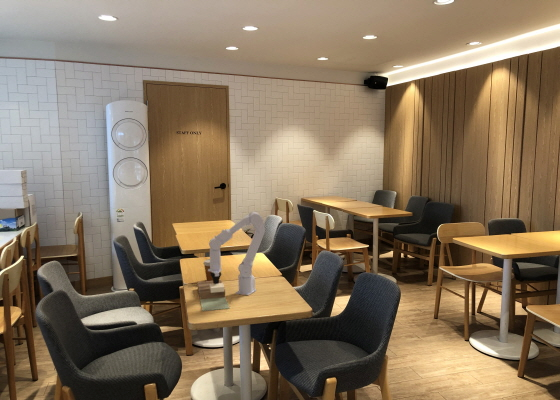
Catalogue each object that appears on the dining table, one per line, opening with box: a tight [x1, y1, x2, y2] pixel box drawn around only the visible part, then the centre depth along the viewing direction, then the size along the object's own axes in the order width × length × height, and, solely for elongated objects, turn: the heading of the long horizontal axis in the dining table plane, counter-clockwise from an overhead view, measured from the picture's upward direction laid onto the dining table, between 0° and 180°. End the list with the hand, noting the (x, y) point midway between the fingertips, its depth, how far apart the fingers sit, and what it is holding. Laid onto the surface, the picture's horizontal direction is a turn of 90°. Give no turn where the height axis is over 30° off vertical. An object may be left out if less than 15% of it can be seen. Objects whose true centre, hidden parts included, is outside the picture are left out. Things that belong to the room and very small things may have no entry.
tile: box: [210, 282, 225, 293], centre depth 225 cm, size 7×7×2 cm
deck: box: [197, 279, 226, 300], centre depth 232 cm, size 20×13×4 cm, turn 14°
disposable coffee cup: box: [203, 258, 213, 281], centre depth 256 cm, size 10×10×12 cm
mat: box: [199, 296, 230, 312], centre depth 215 cm, size 17×13×1 cm
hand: (216, 285), depth 229 cm, fingers closed
